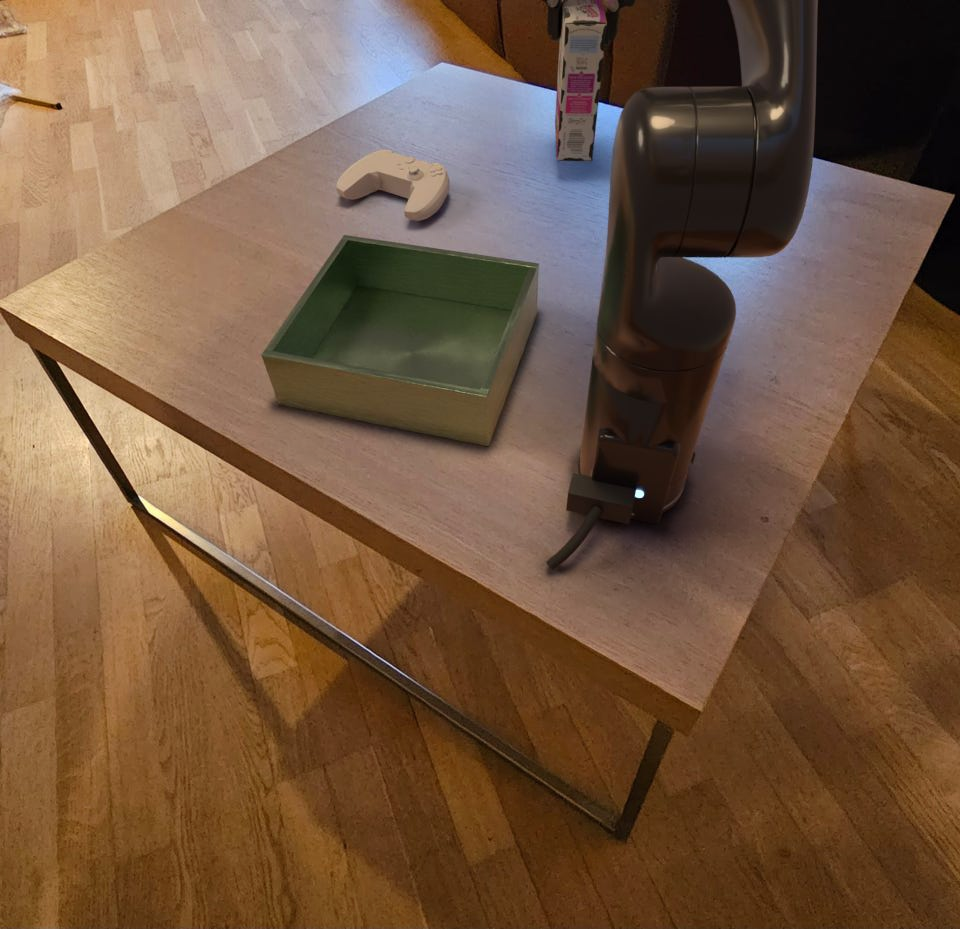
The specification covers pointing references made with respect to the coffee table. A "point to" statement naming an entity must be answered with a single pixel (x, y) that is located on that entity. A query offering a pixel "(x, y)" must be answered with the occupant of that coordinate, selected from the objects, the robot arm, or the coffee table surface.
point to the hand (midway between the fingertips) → (581, 40)
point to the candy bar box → (579, 78)
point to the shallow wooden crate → (407, 338)
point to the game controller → (398, 181)
